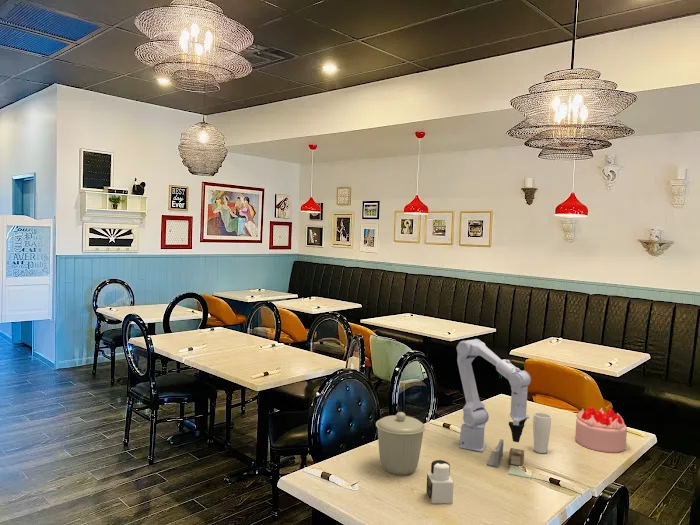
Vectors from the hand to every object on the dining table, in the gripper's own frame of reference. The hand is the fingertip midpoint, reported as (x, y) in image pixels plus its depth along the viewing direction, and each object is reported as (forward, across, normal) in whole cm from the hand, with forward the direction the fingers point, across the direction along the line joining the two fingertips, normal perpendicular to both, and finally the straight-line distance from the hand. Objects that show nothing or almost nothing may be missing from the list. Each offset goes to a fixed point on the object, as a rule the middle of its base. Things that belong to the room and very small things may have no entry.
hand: (517, 438), depth 203 cm
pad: (+10, -7, -2) cm, 12 cm away
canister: (+10, -26, +38) cm, 47 cm away
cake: (+10, +40, -30) cm, 51 cm away
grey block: (+10, 0, +8) cm, 13 cm away
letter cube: (+10, 0, 0) cm, 10 cm away
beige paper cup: (+10, +18, -8) cm, 22 cm away
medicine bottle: (+10, -41, +19) cm, 46 cm away
